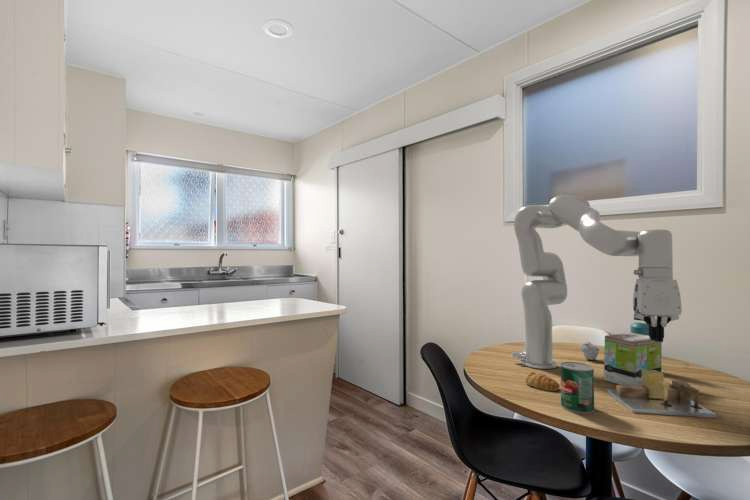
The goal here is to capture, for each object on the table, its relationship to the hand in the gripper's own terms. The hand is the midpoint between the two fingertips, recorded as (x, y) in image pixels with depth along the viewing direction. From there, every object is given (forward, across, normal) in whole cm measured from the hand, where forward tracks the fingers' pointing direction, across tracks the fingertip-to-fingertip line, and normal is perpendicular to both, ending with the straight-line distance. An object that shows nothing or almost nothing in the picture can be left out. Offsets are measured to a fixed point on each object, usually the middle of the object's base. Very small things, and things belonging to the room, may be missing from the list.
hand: (656, 340), depth 102 cm
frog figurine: (+17, 0, +45) cm, 48 cm away
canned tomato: (+17, -23, -7) cm, 30 cm away
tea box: (+17, +3, +19) cm, 26 cm away
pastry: (+18, -28, +9) cm, 34 cm away
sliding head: (+16, 0, 0) cm, 16 cm away
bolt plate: (+17, 0, -1) cm, 17 cm away
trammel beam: (+16, 0, 0) cm, 16 cm away
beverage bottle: (+17, +13, +34) cm, 40 cm away
